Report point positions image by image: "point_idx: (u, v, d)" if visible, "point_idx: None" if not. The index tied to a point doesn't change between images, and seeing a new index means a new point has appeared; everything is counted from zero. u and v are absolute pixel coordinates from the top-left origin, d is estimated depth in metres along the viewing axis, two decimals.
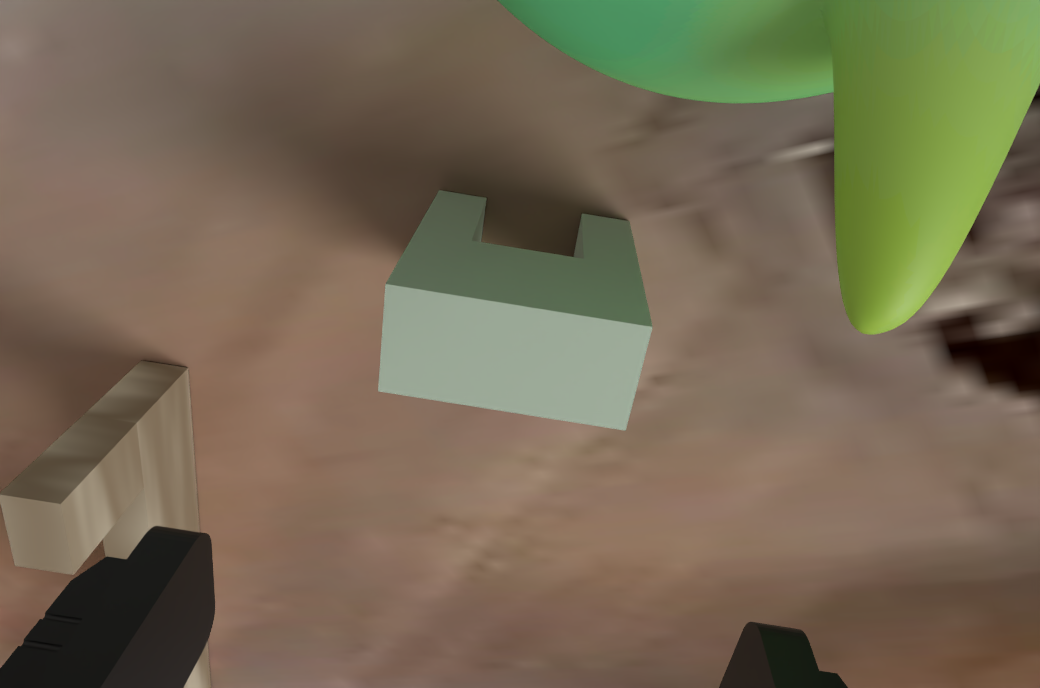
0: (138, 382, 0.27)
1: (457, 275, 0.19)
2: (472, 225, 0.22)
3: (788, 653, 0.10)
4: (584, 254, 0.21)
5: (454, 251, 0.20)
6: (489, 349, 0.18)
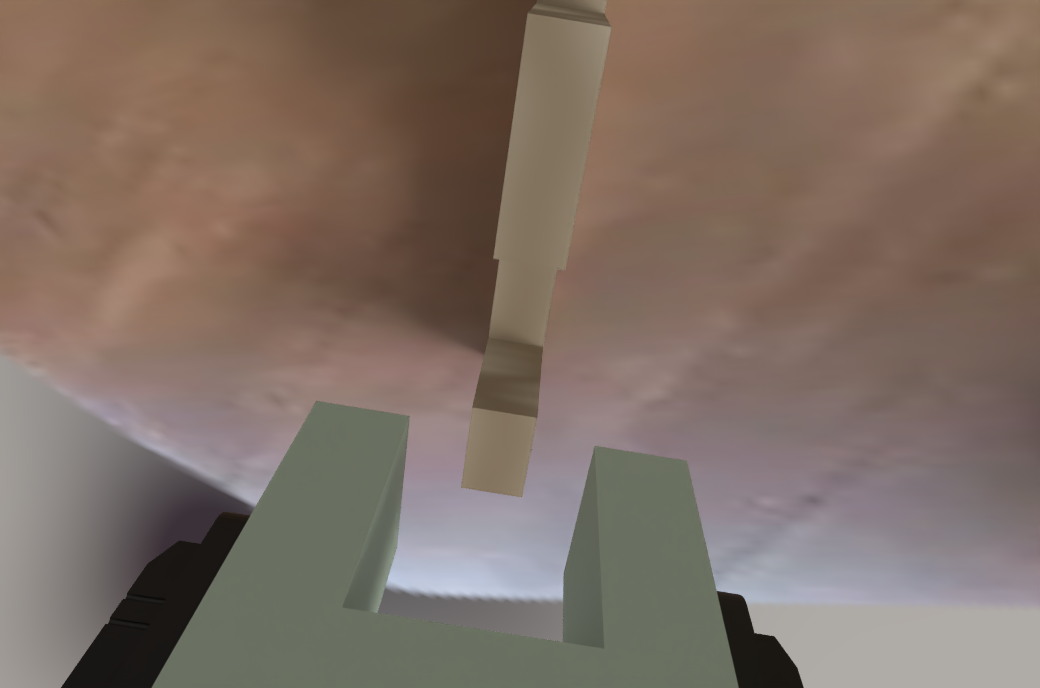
0: None
1: None
2: (357, 533, 0.10)
3: (725, 615, 0.10)
4: (605, 625, 0.09)
5: (283, 677, 0.08)
6: None
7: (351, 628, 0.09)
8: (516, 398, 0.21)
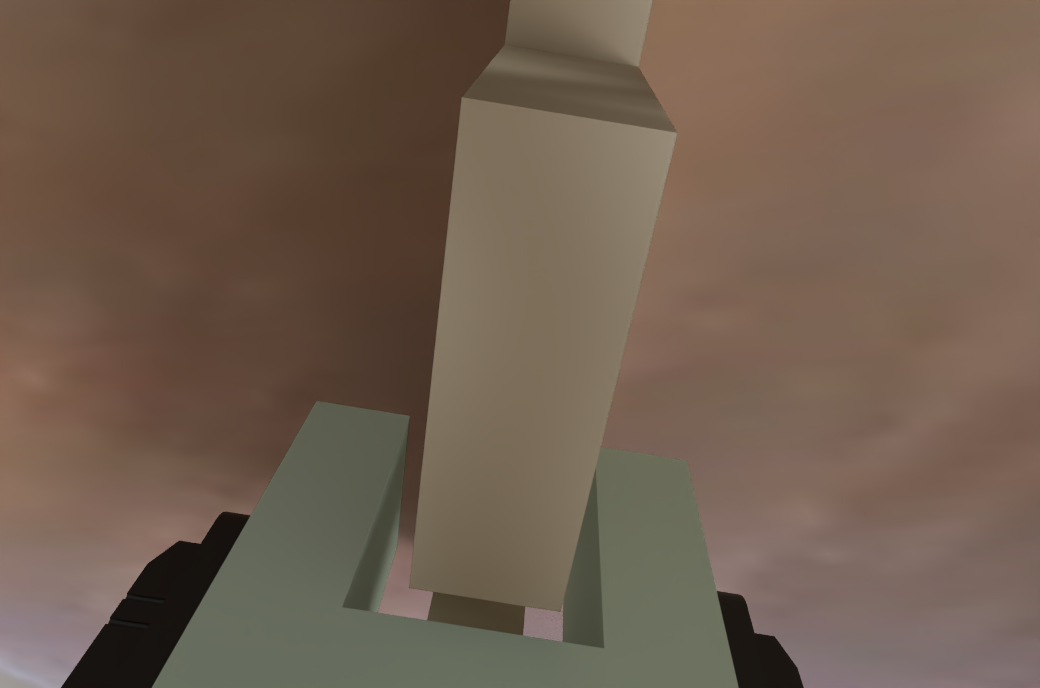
0: None
1: None
2: (358, 533, 0.10)
3: (725, 615, 0.10)
4: (605, 625, 0.09)
5: (284, 676, 0.08)
6: None
7: (351, 628, 0.09)
8: None
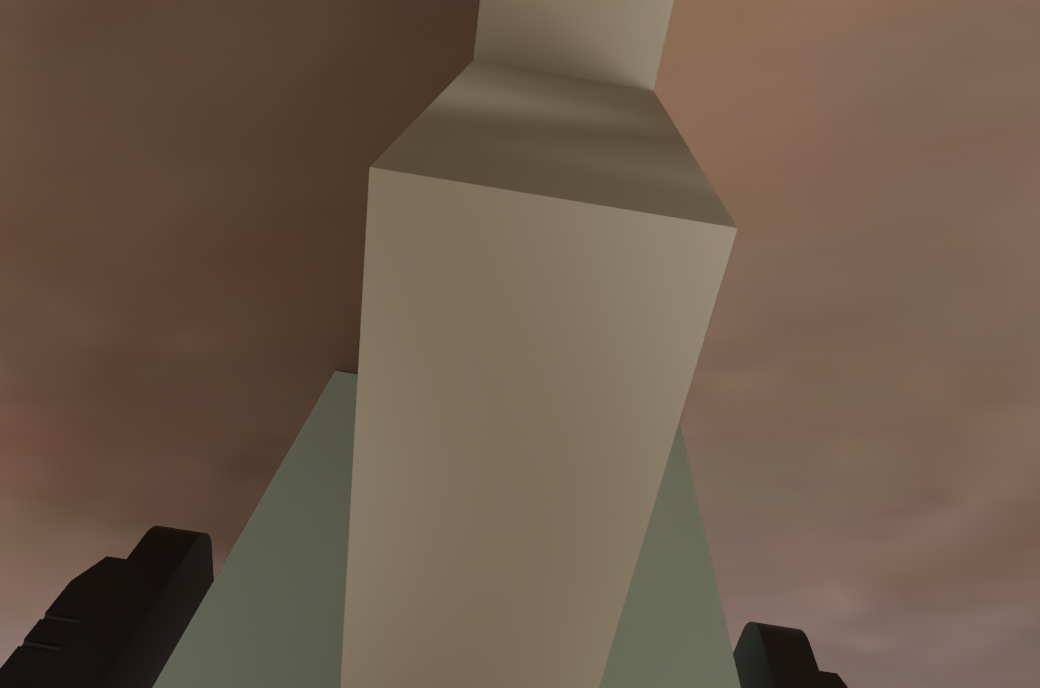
0: None
1: None
2: None
3: (788, 653, 0.10)
4: None
5: (314, 602, 0.09)
6: None
7: None
8: None
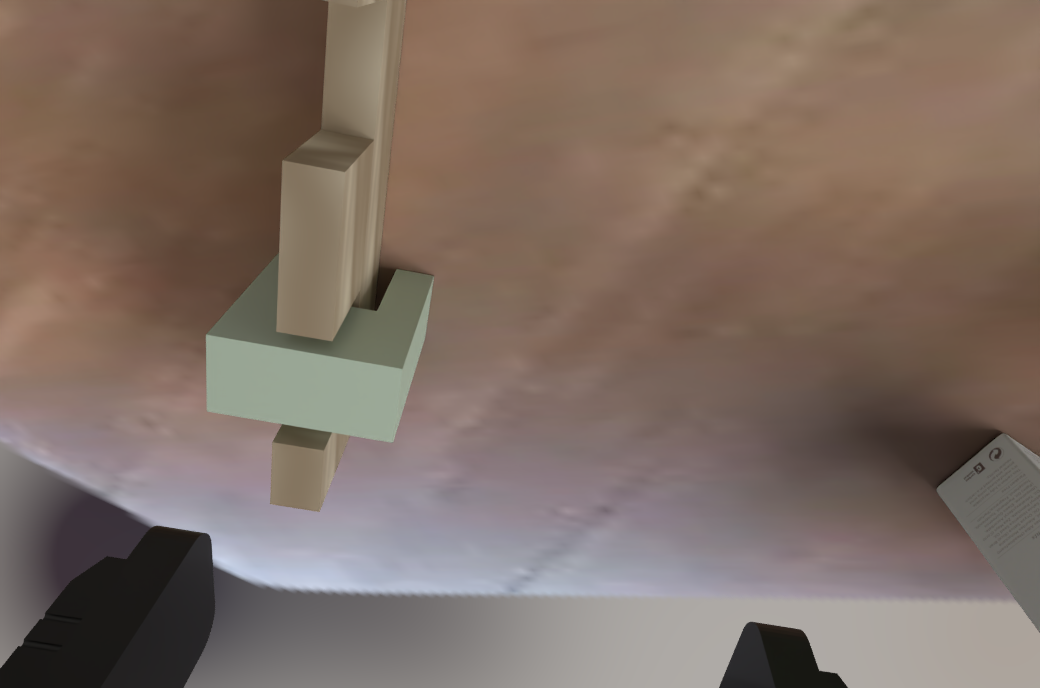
0: None
1: (266, 326, 0.25)
2: None
3: (788, 653, 0.10)
4: (379, 307, 0.28)
5: (272, 305, 0.26)
6: (286, 382, 0.25)
7: None
8: (312, 434, 0.27)
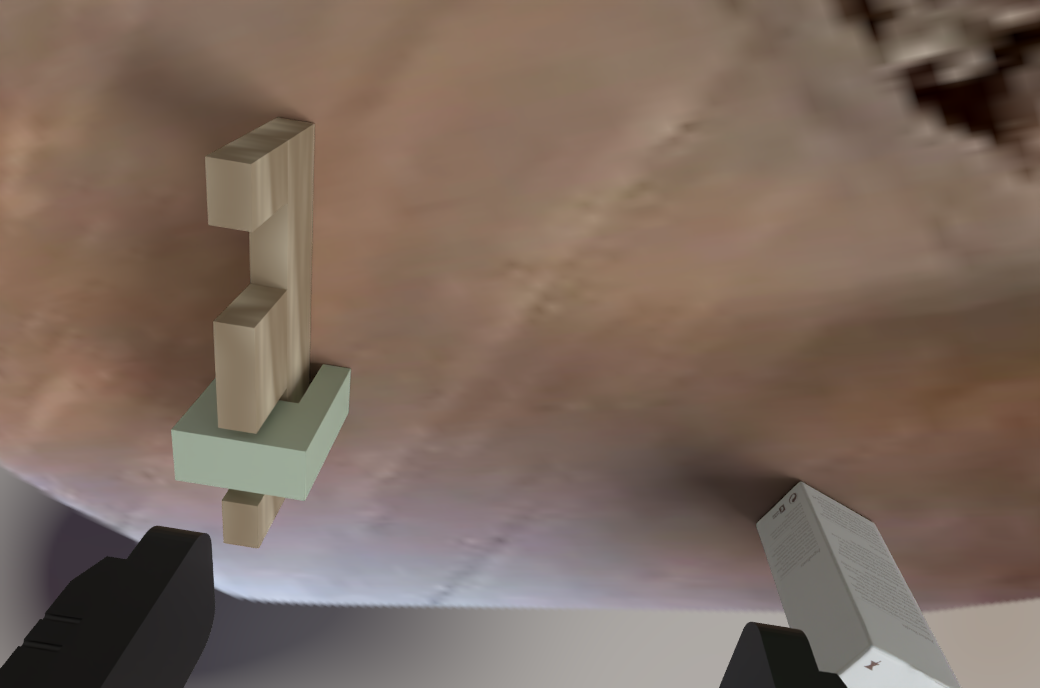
0: (280, 125, 0.34)
1: (214, 421, 0.36)
2: None
3: (788, 653, 0.10)
4: (301, 399, 0.39)
5: None
6: (227, 461, 0.36)
7: None
8: (251, 493, 0.37)
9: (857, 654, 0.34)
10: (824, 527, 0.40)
